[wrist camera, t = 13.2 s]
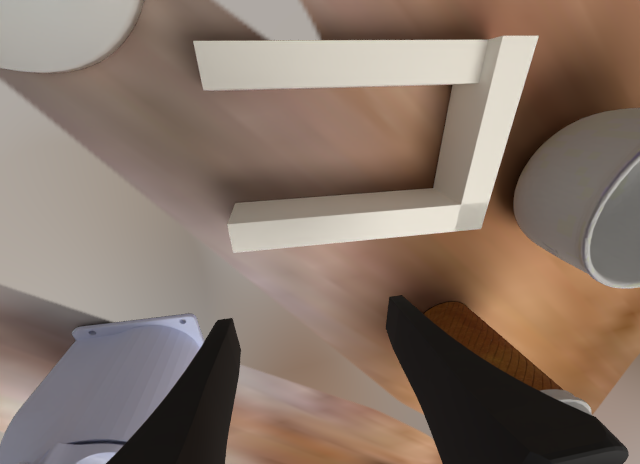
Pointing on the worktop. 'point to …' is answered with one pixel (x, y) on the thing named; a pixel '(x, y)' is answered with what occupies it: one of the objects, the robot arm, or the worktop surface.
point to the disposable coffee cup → (496, 350)
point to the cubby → (379, 71)
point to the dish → (63, 32)
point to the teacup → (587, 196)
